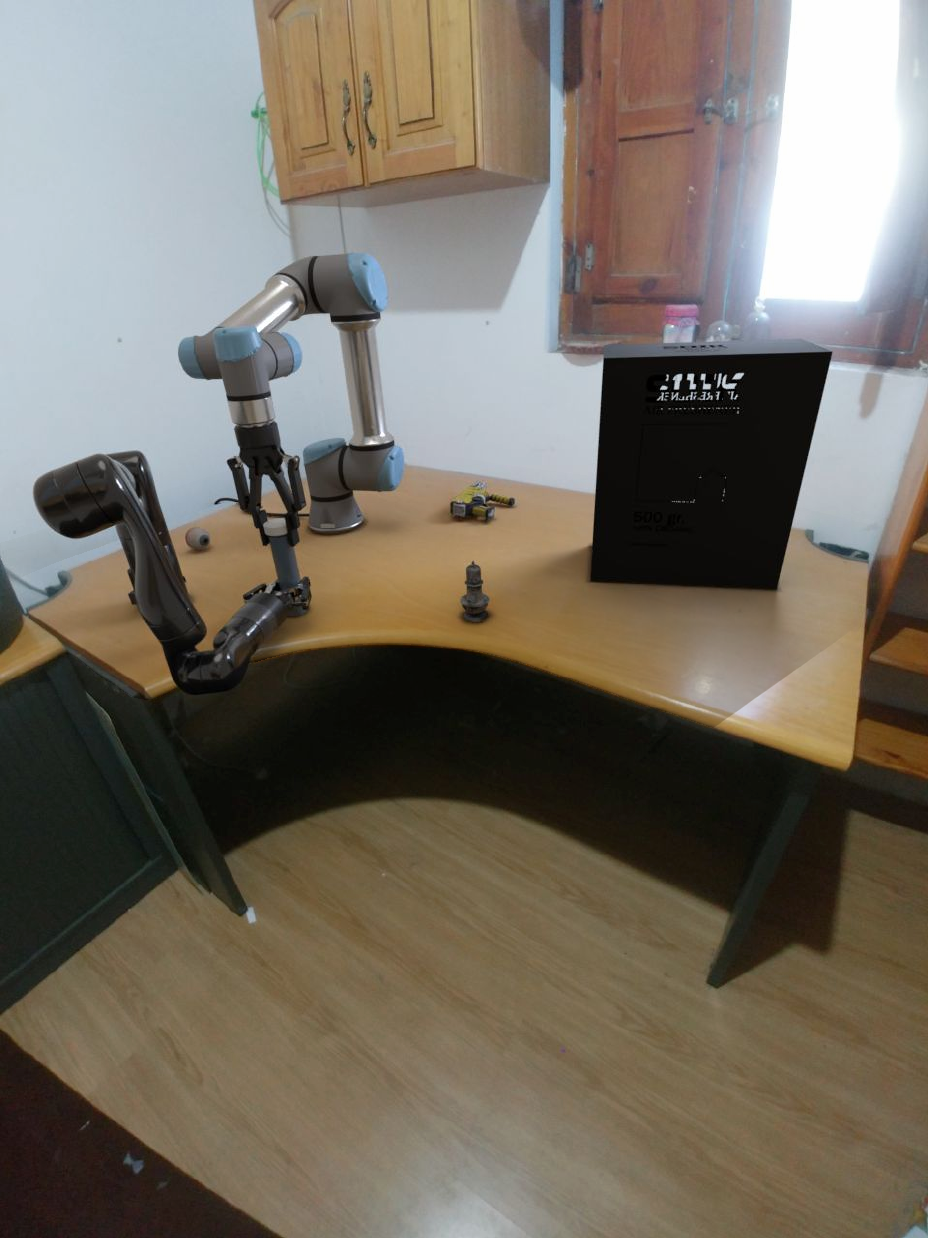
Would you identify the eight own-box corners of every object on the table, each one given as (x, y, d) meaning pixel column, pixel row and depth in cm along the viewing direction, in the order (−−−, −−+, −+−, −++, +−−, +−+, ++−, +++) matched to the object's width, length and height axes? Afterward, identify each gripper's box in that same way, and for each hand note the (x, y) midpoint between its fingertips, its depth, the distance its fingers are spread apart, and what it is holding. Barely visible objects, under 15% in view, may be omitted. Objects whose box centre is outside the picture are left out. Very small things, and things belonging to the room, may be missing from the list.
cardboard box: (756, 549, 141) (800, 338, 118) (776, 589, 124) (832, 351, 101) (592, 544, 148) (604, 344, 126) (590, 580, 131) (603, 357, 109)
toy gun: (523, 485, 181) (476, 478, 185) (501, 509, 161) (448, 500, 165) (521, 500, 184) (475, 493, 187) (499, 525, 163) (447, 517, 167)
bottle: (304, 616, 125) (286, 530, 115) (283, 617, 125) (263, 532, 115) (308, 605, 128) (291, 522, 119) (288, 606, 129) (269, 523, 119)
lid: (269, 538, 115) (268, 530, 114) (261, 530, 118) (259, 522, 118) (296, 531, 117) (294, 523, 116) (287, 524, 121) (285, 516, 120)
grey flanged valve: (487, 623, 118) (485, 567, 112) (458, 621, 119) (454, 566, 113) (492, 608, 123) (490, 554, 117) (464, 607, 124) (461, 553, 118)
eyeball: (199, 555, 155) (192, 533, 152) (183, 551, 158) (177, 529, 155) (218, 547, 159) (212, 525, 156) (203, 543, 162) (197, 522, 159)
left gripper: (289, 605, 108) (325, 564, 123) (217, 601, 111) (261, 562, 125) (297, 640, 112) (331, 597, 127) (227, 636, 115) (268, 594, 129)
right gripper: (311, 417, 109) (331, 537, 121) (219, 418, 112) (248, 535, 124) (294, 426, 103) (317, 552, 114) (197, 428, 106) (229, 550, 117)
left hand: (296, 580), depth 126 cm, fingers closed on bottle, 4 cm apart
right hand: (281, 543), depth 119 cm, fingers closed on lid, 5 cm apart
